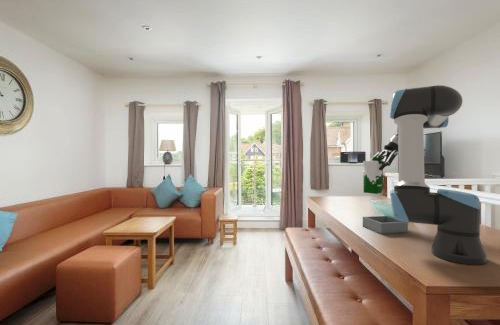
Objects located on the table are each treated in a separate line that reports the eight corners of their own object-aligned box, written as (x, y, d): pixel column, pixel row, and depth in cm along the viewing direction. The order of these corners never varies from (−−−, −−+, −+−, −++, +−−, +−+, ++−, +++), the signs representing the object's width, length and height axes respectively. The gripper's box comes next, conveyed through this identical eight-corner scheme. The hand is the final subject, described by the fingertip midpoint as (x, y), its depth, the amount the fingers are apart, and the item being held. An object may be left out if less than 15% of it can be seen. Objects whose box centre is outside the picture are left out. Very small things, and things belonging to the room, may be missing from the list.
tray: (407, 232, 119) (407, 222, 119) (381, 234, 117) (381, 223, 117) (386, 225, 133) (386, 215, 133) (362, 226, 131) (362, 216, 131)
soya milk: (377, 194, 136) (377, 157, 136) (360, 192, 143) (361, 157, 143) (384, 192, 142) (384, 157, 142) (368, 191, 149) (368, 157, 149)
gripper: (413, 149, 135) (387, 179, 132) (384, 151, 156) (361, 177, 153) (405, 139, 134) (378, 169, 131) (377, 142, 155) (353, 168, 152)
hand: (369, 173), depth 142 cm, fingers closed on soya milk, 9 cm apart
